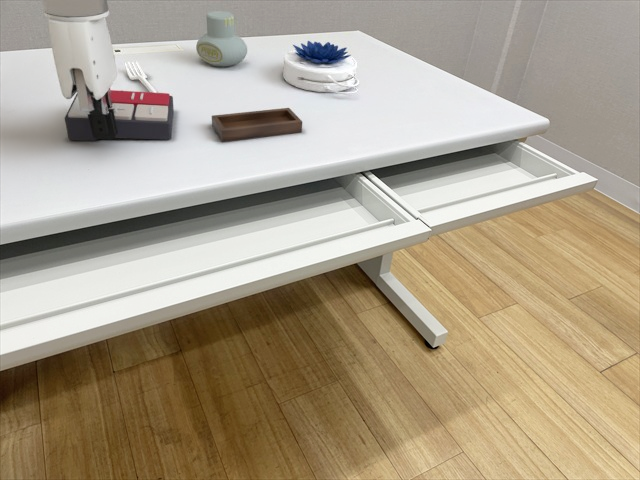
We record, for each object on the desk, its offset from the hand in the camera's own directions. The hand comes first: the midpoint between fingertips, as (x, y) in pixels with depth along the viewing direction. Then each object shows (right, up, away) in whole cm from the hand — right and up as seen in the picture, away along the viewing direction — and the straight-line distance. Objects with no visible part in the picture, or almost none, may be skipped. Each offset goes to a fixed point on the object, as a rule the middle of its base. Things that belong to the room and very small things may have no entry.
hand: (106, 136), depth 71 cm
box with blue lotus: (+33, +18, +31) cm, 48 cm away
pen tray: (+21, +3, +10) cm, 24 cm away
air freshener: (+10, +24, +35) cm, 43 cm away
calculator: (0, +3, +7) cm, 8 cm away
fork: (-1, +13, +20) cm, 24 cm away
